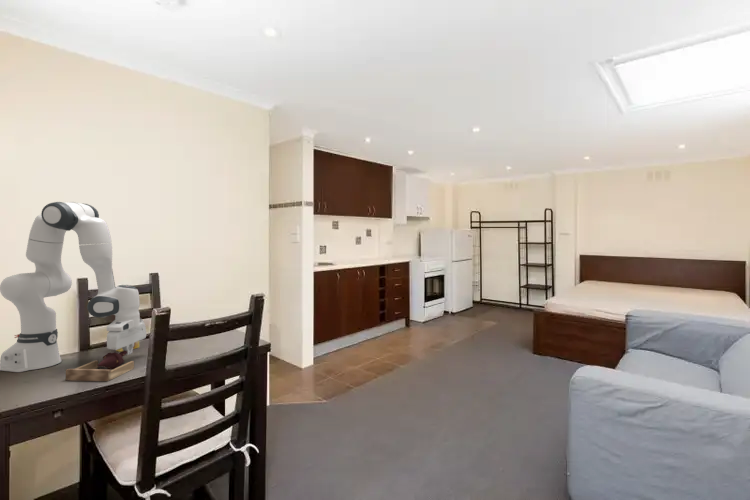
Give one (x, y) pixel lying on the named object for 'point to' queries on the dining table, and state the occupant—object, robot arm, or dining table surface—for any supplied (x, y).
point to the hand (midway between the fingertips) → (128, 354)
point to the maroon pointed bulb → (112, 360)
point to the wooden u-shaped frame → (97, 372)
